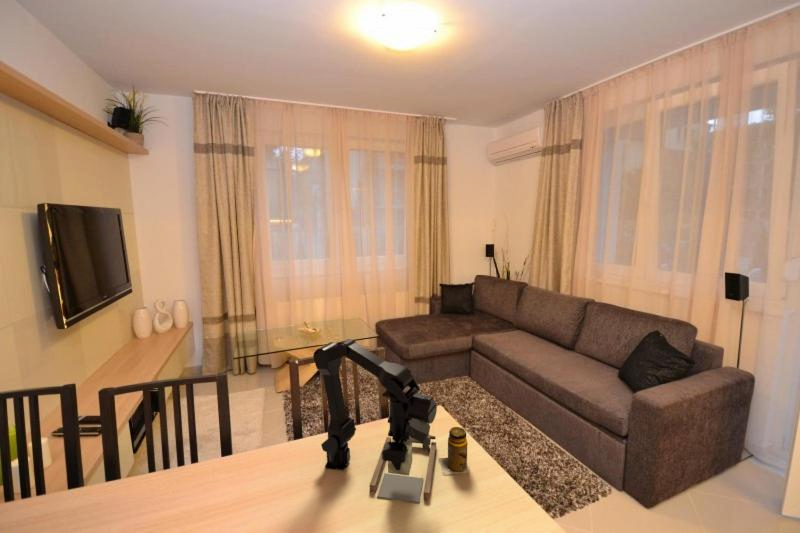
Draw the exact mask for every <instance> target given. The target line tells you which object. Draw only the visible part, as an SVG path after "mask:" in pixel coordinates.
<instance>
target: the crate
mask: <svg viewBox="0 0 800 533" xmlns="http://www.w3.org/2000/svg"><path fill="white" fill-rule="evenodd" d="M391 442H395V440H392V439H391ZM400 442H401V441H400ZM404 444H405V445H406V446H407V450H408V452H407V456H406V460H405V462H403V463H401V467H400V470H396V469H395V467H394V465H393V464H392V462H391V461H387V474H394V475H402V476H410V473H411V468H412V464H413V443H412V442H404Z"/></svg>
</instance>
